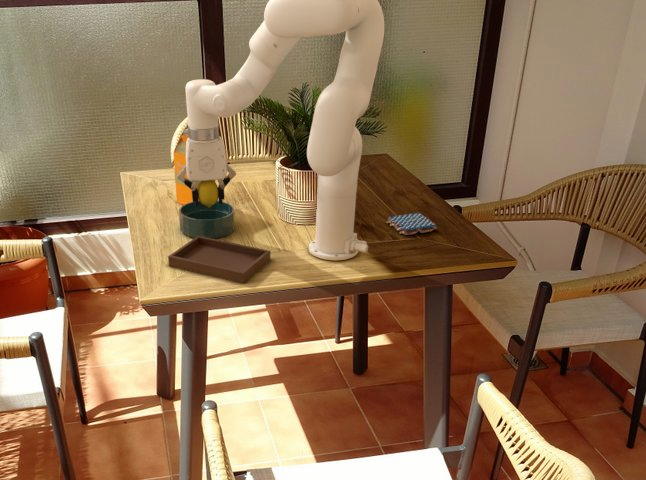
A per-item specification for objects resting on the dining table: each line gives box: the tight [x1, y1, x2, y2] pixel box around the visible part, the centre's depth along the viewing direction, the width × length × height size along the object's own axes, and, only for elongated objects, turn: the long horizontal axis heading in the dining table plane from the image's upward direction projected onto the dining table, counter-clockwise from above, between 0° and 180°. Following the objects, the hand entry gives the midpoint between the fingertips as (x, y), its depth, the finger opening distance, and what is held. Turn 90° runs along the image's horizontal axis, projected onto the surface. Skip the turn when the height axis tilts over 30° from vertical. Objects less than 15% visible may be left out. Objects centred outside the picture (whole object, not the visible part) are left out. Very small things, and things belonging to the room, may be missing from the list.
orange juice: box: [172, 134, 217, 206], centre depth 208 cm, size 8×9×20 cm
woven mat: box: [386, 212, 438, 236], centre depth 198 cm, size 10×11×2 cm
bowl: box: [178, 199, 236, 239], centre depth 195 cm, size 15×15×6 cm
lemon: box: [197, 180, 219, 208], centre depth 191 cm, size 6×6×8 cm
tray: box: [167, 236, 271, 284], centre depth 178 cm, size 21×14×3 cm
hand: (208, 202), depth 192 cm, fingers closed on lemon, 5 cm apart
